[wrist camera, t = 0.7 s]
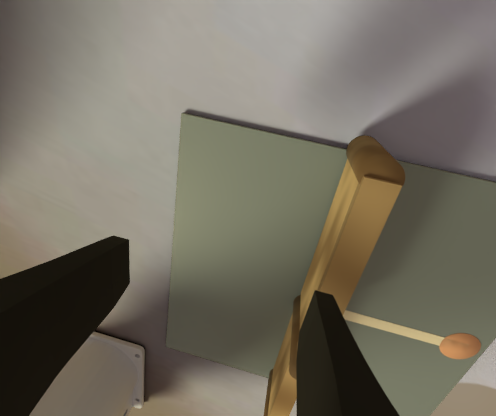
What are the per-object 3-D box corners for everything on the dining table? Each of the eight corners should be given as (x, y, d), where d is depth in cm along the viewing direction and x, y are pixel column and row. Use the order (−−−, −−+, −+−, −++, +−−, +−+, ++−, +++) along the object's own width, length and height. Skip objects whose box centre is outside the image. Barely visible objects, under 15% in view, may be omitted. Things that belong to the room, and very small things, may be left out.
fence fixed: (286, 383, 24) (280, 457, 19) (267, 377, 24) (257, 449, 20) (319, 298, 20) (322, 367, 15) (296, 292, 20) (292, 358, 15)
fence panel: (321, 298, 19) (324, 359, 15) (297, 291, 19) (294, 350, 15) (384, 139, 14) (414, 166, 10) (352, 132, 14) (369, 156, 10)
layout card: (420, 420, 23) (422, 425, 23) (167, 343, 25) (165, 347, 25) (600, 204, 14) (606, 207, 14) (183, 112, 16) (181, 113, 16)
